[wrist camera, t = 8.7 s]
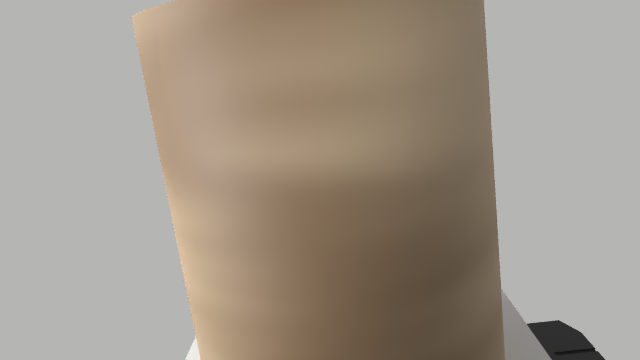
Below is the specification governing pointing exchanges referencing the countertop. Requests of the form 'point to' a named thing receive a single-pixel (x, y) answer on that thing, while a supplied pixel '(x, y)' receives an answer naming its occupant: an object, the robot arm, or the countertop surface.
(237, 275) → the peg
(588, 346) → the robot arm
